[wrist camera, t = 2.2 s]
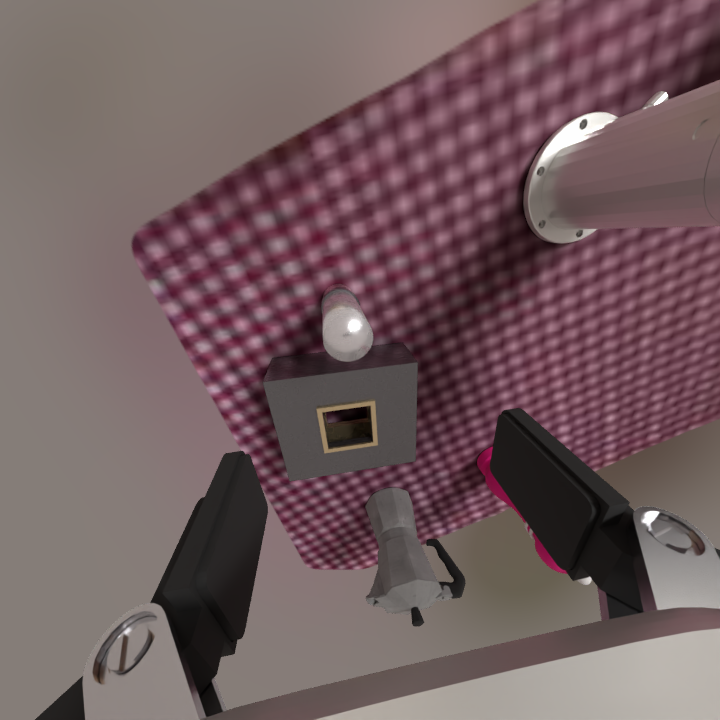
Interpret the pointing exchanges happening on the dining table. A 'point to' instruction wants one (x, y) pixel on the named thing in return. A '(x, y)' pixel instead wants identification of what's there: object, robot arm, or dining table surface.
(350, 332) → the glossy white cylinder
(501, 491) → the pepper mill
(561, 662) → the robot arm
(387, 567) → the coffeepot
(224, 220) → the dining table surface
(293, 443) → the grey square socket block
